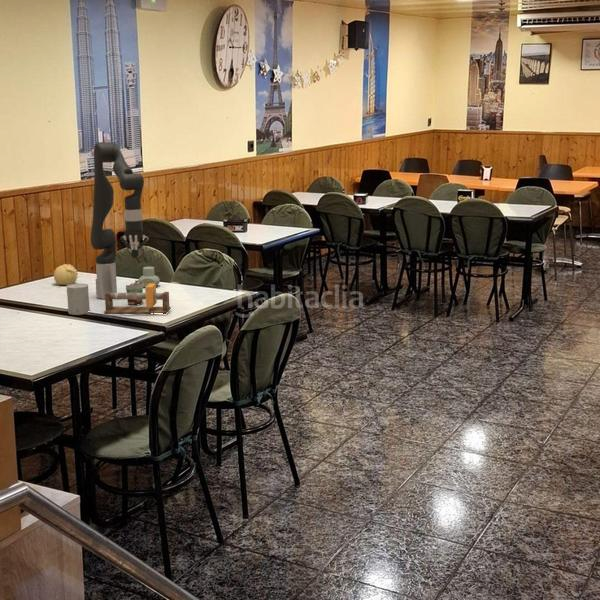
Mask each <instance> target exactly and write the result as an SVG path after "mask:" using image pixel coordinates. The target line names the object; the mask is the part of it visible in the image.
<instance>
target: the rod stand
mask: <svg viewBox="0 0 600 600" xmlns="http://www.w3.org/2000/svg"><path fill="white" fill-rule="evenodd" d="M153 297H154V300H159V301H160V300H161V301H162V306H153V307H146V306H128V305H127V306H123V305H122V306H118V305H116V306H114V302H113V300H127V299H131V300H142V301H143V300H145V301H146V293H145V292H143V293H127V292H117V293H112V292H107V293H105V299H104V304H105V307H104V308H105V310H104V311H103V312H104V314H151V313H153V314H154V313H163V314H166V313H167V312H168V311H169V310H170V309H171V310H172V308H171V307H172V306H171V305H170V292H169V291H163V292H156V293H153ZM171 310H170V311H171ZM170 311H169V312H170Z"/></svg>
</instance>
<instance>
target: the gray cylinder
mask: <svg viewBox="0 0 600 600" xmlns="http://www.w3.org/2000/svg"><path fill="white" fill-rule="evenodd" d="M65 286H66V297H67V309H68V310H67V311H68V313H67V314H69V315H73V316H74V315H75V316H79V315H85V314H84V313H87V312H88V311H90V312H91V310H90V296H89V295H90V294H89V284H88V283H74V284H71V285H65ZM87 314H88V313H87Z"/></svg>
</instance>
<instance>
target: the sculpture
mask: <svg viewBox="0 0 600 600" xmlns="http://www.w3.org/2000/svg"><path fill="white" fill-rule="evenodd" d="M53 280H54V282H55V283H56V284H57V285H60V286H67V285H71V284H76V282H77V280H78V270H77V269H76V268H75V267H74V265H72V264H69V263H68V264H67V263H63V264H62V265H59V266H57V267H55V269H54V272H53Z"/></svg>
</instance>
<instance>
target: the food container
mask: <svg viewBox="0 0 600 600" xmlns="http://www.w3.org/2000/svg"><path fill="white" fill-rule="evenodd" d="M138 280H139V279H138ZM138 280H137V279H135V281H134V283H130V284H126V285H125V291H126V293H144V291H143V290H144V288H145V287H144V284H143V282H142V281H138ZM126 300H127V306H128V305H135V306H138V305H137V304H140V305H142V304H143V300H131V299H126ZM141 303H142V304H141Z"/></svg>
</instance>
